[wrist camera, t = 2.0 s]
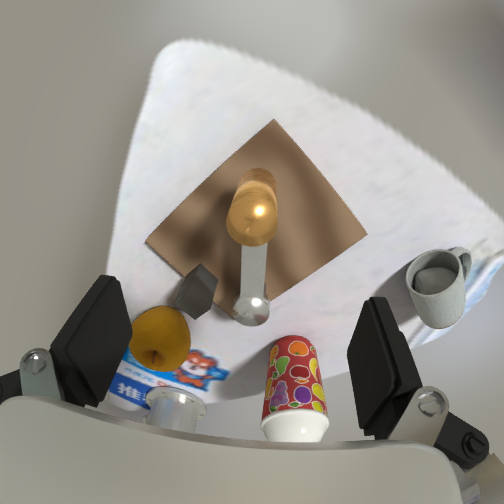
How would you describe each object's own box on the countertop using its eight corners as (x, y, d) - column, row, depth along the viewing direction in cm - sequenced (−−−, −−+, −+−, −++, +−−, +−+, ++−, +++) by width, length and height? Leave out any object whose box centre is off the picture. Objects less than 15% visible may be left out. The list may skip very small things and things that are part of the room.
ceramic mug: (413, 307, 39) (432, 344, 32) (396, 268, 36) (418, 305, 29) (470, 271, 36) (496, 303, 29) (460, 228, 32) (491, 258, 26)
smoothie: (287, 371, 47) (287, 484, 29) (253, 344, 44) (241, 470, 27) (330, 349, 44) (346, 470, 26) (299, 319, 41) (306, 454, 23)
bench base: (239, 314, 41) (233, 352, 35) (149, 235, 36) (126, 265, 30) (364, 228, 33) (381, 260, 27) (273, 118, 28) (274, 125, 22)
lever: (268, 315, 35) (265, 382, 27) (234, 313, 35) (223, 378, 27) (281, 165, 26) (286, 202, 18) (237, 162, 27) (219, 198, 18)
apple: (139, 326, 44) (120, 369, 36) (143, 285, 40) (119, 329, 32) (191, 343, 45) (178, 388, 37) (202, 304, 41) (188, 352, 33)
